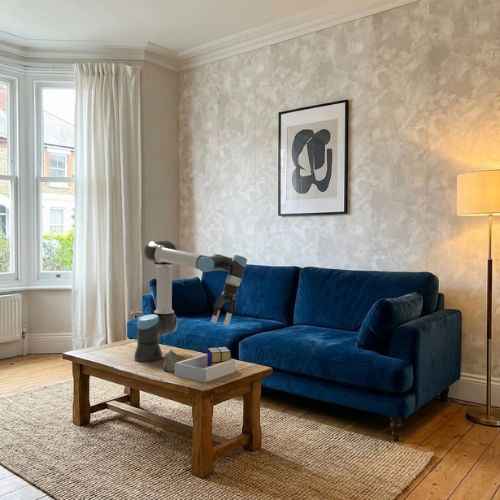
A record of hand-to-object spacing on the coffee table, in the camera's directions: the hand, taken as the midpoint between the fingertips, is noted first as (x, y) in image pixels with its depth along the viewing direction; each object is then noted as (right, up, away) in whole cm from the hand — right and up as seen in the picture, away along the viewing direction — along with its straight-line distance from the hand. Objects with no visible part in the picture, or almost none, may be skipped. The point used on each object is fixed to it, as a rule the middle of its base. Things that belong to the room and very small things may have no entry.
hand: (219, 323), depth 252 cm
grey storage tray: (-6, -22, -13) cm, 27 cm away
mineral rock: (-24, -23, -3) cm, 33 cm away
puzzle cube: (0, -22, -5) cm, 23 cm away
